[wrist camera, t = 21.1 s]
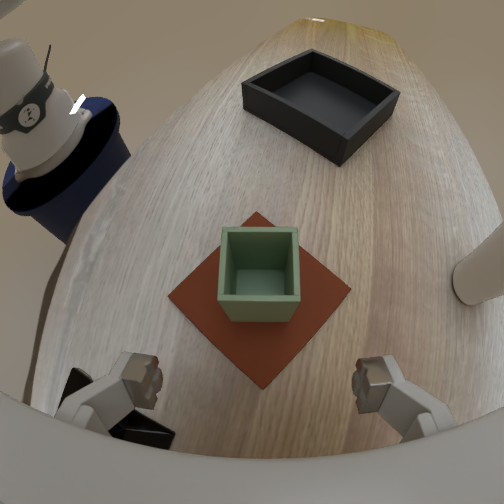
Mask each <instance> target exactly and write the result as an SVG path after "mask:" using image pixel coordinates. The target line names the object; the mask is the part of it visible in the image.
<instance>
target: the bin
mask: <svg viewBox="0 0 504 504" xmlns="http://www.w3.org/2000/svg"><path fill="white" fill-rule="evenodd" d="M241 84H242V97H243V109H244V110H246V111H248V112H250V113H252V114H254V115H256V116H257V117H259V118H261V119H263V120H265V121H267V122H268V123H270V124H272V125H274V126H275V127H277V128H279V129H281V130H282V131H284V132H286V133H287V134H289V135H291V136H292V137H294V138H296V139H297V140H299V141H301V142H302V143H304V144H305V145H307V146H309V147H310V148H312V149H313V150H315V151H317V152H318V153H320V154H321V155H323V156H324V157H326V158H327V159H329V160H330V161H332V162H333V163H335V164H336V165H338V166H339V167H340V166H341V165H342V164H343V163H344V162H345V161H346V160H347V159H348V158H349V157H350V156H351V155H352V154H353V153H354V152H355V151H356V150H357V149H358V148H359V147H360V146H361V145H362V144H363V143H364V142H365V141H366V140H367V139H368V138H369V137H370V136H371V135H372V134H373V133H374V132H375V131H376V130H377V129H378V128H379V127H380V126H381V125H382V124H383V123H384V122H385V121H386V120H387V119H388V118H389V117H390V116H391V115H392V113H393V111H394V108H395V106H396V103H397V100H398V98H399V95H400V92H399V91H397V90H396V89H394V88H392V87H390V86H389V85H387V84H385V83H383V82H382V81H380V80H378V79H376V78H374V77H372V76H370V75H369V74H367V73H365V72H363V71H361V70H359V69H357V68H355V67H353V66H350V65H348V64H346V63H344V62H342V61H340V60H337V59H335V58H333V57H331V56H328V55H326V54H323V53H321V52H319V51H316V50H313V49H310V50H307V51H305V52H303V53H301V54H298V55H296V56H294V57H292V58H289V59H287V60H285V61H283V62H281V63H279V64H277V65H275V66H273V67H271V68H269V69H267V70H265V71H263V72H261V73H259V74H257V75H255V76H253V77H251V78H249V79H248V80H246V81H244V82H242V83H241Z"/></svg>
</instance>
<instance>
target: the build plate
mask: <svg viewBox="0 0 504 504" xmlns="http://www.w3.org/2000/svg"><path fill="white" fill-rule="evenodd" d="M91 383H93V381H92V379H91V377H90V376H89V375H88V374H86V373H85V372H84V371H82V370H81V369H80V368H72V370H71V372H70V375H69V378H68V380H67V383H66V386H65V389H64V392H63V394H62V397H61V400H60V403H59V406H58V409H59V407H60V406H61V404H62V402H63V401H64V399H65V398H66V397H68V396H69V395H71V394H73V393H75V392H77V391H78V390H80V389H82V388H84V387H85V386H87V385H89V384H91ZM108 432H109V434H110V435H111V436H112V437H113V438H116V439H120V440H124V441H128V442H132V443H136V444H140V445H145V446H149V447H154V448H159V449H165V450H169V448H170V445H171V443H172V441H173V439H174V437H175V432H174V431H172V430H170V429H168V428H166V427H165V426H163V425H161V424H159V423H157V422H155V421H154V420H152V419H150V418H148V417H147V416H145V415H143V414H142V413H140V412H138V411H137V410H135V409H133V410H132V411H131V412H130V413H129V414H128V415H126V416H125V417H124V418H123V419H122V420H120V421H119V422H118V423H117V424H116V425H114V426H113V427H112V428H111V429H109V430H108Z"/></svg>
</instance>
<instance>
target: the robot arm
mask: <svg viewBox="0 0 504 504" xmlns="http://www.w3.org/2000/svg"><path fill="white" fill-rule="evenodd" d="M24 1H25V0H0V19H2V18H3V17H4V16H6V15H7V14H8V13H10V12H11V11H13V10H14V9H15V8H17V7H18V6H19V5H21V4H22V3H23V2H24ZM50 49H51V45H49V51H48V54H47V58H46V61H45V66H44V70H42V69H41V67H40V65H39V63H38V61H37V59H36V57H35V55H34V53H33V51H32V49H31V47H30V45H29V43H28V42H27V41H26V40H24V39H22V38H10V39H7V40H3V41H0V134H2V137H3V138H2V147H1V148H2V150H3V152H4V153H5V154H6V156H7V157H8V158H9V159H10V161H11V162H12V163H13V164H14V166H15V179H16V181H17V182H18V183H20V182H23V181H25V180H26V179H29V178H38V177H41V176H43V175H45V174H47V173H49V172H50V171H52V170H53V169H55V168H56V167H57V166H59V165H60V164H61V163H62V162H63V161H64V160H65V159H66V158H67V157H68V156H69V155H70V154H71V153H72V152H73V150H74V149H75V148H76V146H77V145H78V143H79V142H80V140H81V138H82V136H83V133H84V130H85V127H86V125H87V123H88V122H89V120H90V119H91V117H92V113H91V112H90V111H89V110H86V109H83V108H80V107H79V106H80V105H81V104H82V102H83V101H84V99H85V97H84V95H82V96H81V97H80V99H79V100H78V101H77V103H76V104H75V103H74V101H73V100H72V98H71V96H70V95H69V93H68V92H67V90H63V89H56V88H54V84H53V83H52V81H51V78H50V76H49V75H48V74H47V72H46V67H47V62H48V58H49V54H50ZM158 364H159V361H158V358H157V357H156V356H153V355H147V354H140V353H132V352H127V351H123V352H122V353H121V354H120V356H119V358H118V359H117V361H116V363H115V364H114V366H113V368H112V370H111V371H110V373H109V375H108V376H103V377H101V378H100V379H98V380H96V381H94V382H93V383H91V384H89V385H87V386H85V387H84V388H82V389H80V390H78V391H77V392H75V393H73V394H71V395H69V396H68V397H66V398H65V399H64V401H63V402H62V404H61V406H60V407H59V409H58V410H57V412H56V414H55V416H54V417H52V416H50V415H48V414H45V413H43V412H41V411H39V410H37V409H34V408H32V407H30V406H28V405H26V404H24V403H22V402H20V401H18V400H16V399H14V398H12V397H10V396H9V395H7V394H5V393H3V392H1V391H0V504H504V406H503V407H501V408H499V409H497V410H495V411H493V412H491V413H488V414H486V415H484V416H482V417H479V418H477V419H475V420H472V421H470V422H467V423H465V424H462V425H459V426H458V425H457V423H456V421H455V419H454V417H453V415H452V413H451V411H450V409H449V407H448V405H446V404H444V403H443V402H441V401H440V400H438V399H437V398H435V397H433V396H432V395H430V394H429V393H427V392H426V391H424V390H423V389H421V388H419V387H418V386H416V385H415V384H413V383H412V382H410V381H406V380H405V378H404V376H403V374H402V372H401V370H400V368H399V366H398V364H397V362H396V360H395V358H394V356H393V355H386V356H381V357H380V356H378V357H370V358H360V359H358V360H357V363H356V368H357V370H356V371H355V372H354V373H353V376H352V384H351V385H352V391H353V394H354V395H355V396H356V397H357V399H356V406H357V409H358V413H359V414H364V413H373V412H378V414H379V415H380V416H381V417H383V418H384V419H385V420H386V421H387V422H388V423H389V424H390V425H391V426H392V427H393V428H394V429H395V430H396V431H397V432H398V433H399V434H400V435H401V436H403V438H402V440H401V441H400V442H399V444H396V445H391V446H387V447H382V448H377V449H372V450H366V451H360V452H354V453H347V454H339V455H331V456H320V457H308V458H288V459H249V458H229V457H216V456H206V455H197V454H190V453H183V452H176V451H170V450H165V449H159V448H154V447H149V446H145V445H140V444H136V443H132V442H128V441H124V440H120V439H116V438H113V437H112V436H111V435H110V434H109V432H108V430H109V429H111V428H112V427H113V426H114V425H116V424H117V423H118V422H119V421H120V420H122V419H123V418H124V417H125V416H126V415H128V414H129V413H130V412H131V411H132V410H133V409H135V407H137V408H143V409H150V410H154V407H155V404H156V401H157V399H158V398H157V396H156V393H158V392H159V391H160V390H161V388H162V383H163V375H162V371H161V369H160V368H158V367H157V366H158Z"/></svg>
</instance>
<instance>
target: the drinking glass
mask: <svg viewBox="0 0 504 504" xmlns="http://www.w3.org/2000/svg"><path fill="white" fill-rule="evenodd" d="M453 286H454V290H455V292H456V294H457V296H458V297H459V299H460V300H461V301H462V302H463V303H465V304H467V305H471V306H473V305H477V304H480V303H482V302H484V301H487V300H490V299H493V298H496V297H499V296H502V295H504V221H503V222H502V223H501V224H500V225H499V226H498V227H497V228H496V229H495V230H494V232H493V233H492V234H491V235H490V236H489V237H487V238H486V239H485V240H484V241H483V242H482V243H481V244H480V245H479V246H478V247H477V248H476V249H475V250H474V251H473V252H472V253H470V254H469V255H468V256H467V257H466V258H464V259H463V260H461V261H460V262H459V263H458V264H457V265H456V267H455V269H454V272H453Z"/></svg>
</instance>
